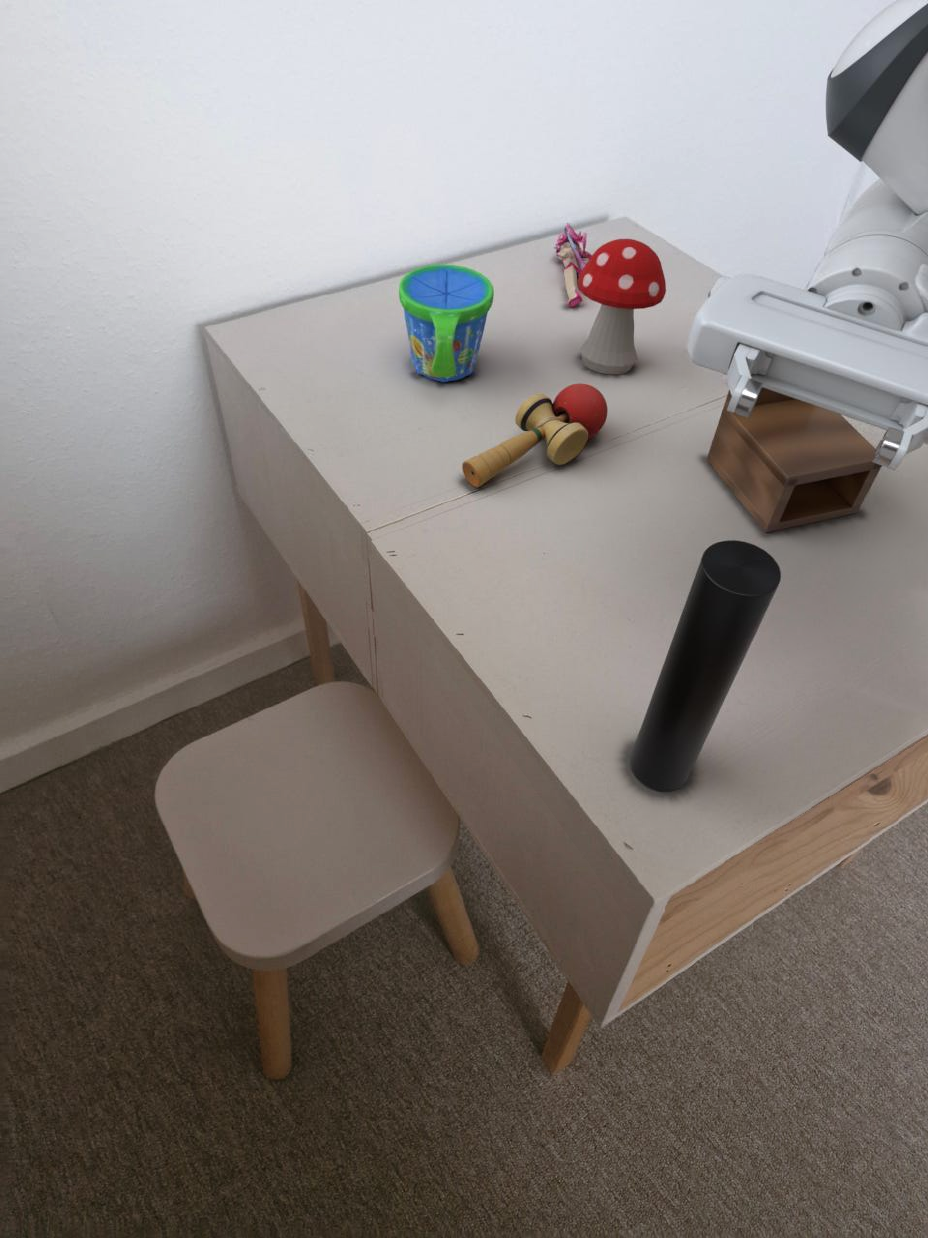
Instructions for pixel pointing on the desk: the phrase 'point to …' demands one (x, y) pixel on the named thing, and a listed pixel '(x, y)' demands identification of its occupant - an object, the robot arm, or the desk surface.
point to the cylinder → (703, 659)
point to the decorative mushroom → (619, 301)
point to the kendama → (545, 430)
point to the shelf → (792, 461)
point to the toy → (572, 261)
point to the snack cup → (445, 318)
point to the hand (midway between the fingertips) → (812, 432)
